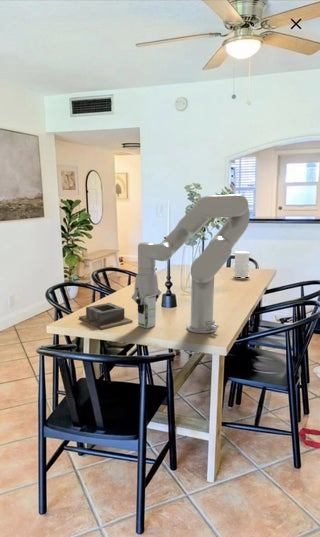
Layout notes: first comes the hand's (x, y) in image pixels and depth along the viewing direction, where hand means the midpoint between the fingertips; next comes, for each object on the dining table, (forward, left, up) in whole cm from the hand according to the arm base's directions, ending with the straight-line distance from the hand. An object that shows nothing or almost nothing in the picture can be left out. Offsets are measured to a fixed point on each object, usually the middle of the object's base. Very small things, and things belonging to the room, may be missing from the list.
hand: (146, 311), depth 170 cm
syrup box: (0, 0, -7) cm, 7 cm away
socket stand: (+18, +10, -7) cm, 22 cm away
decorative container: (+44, -121, -7) cm, 129 cm away
